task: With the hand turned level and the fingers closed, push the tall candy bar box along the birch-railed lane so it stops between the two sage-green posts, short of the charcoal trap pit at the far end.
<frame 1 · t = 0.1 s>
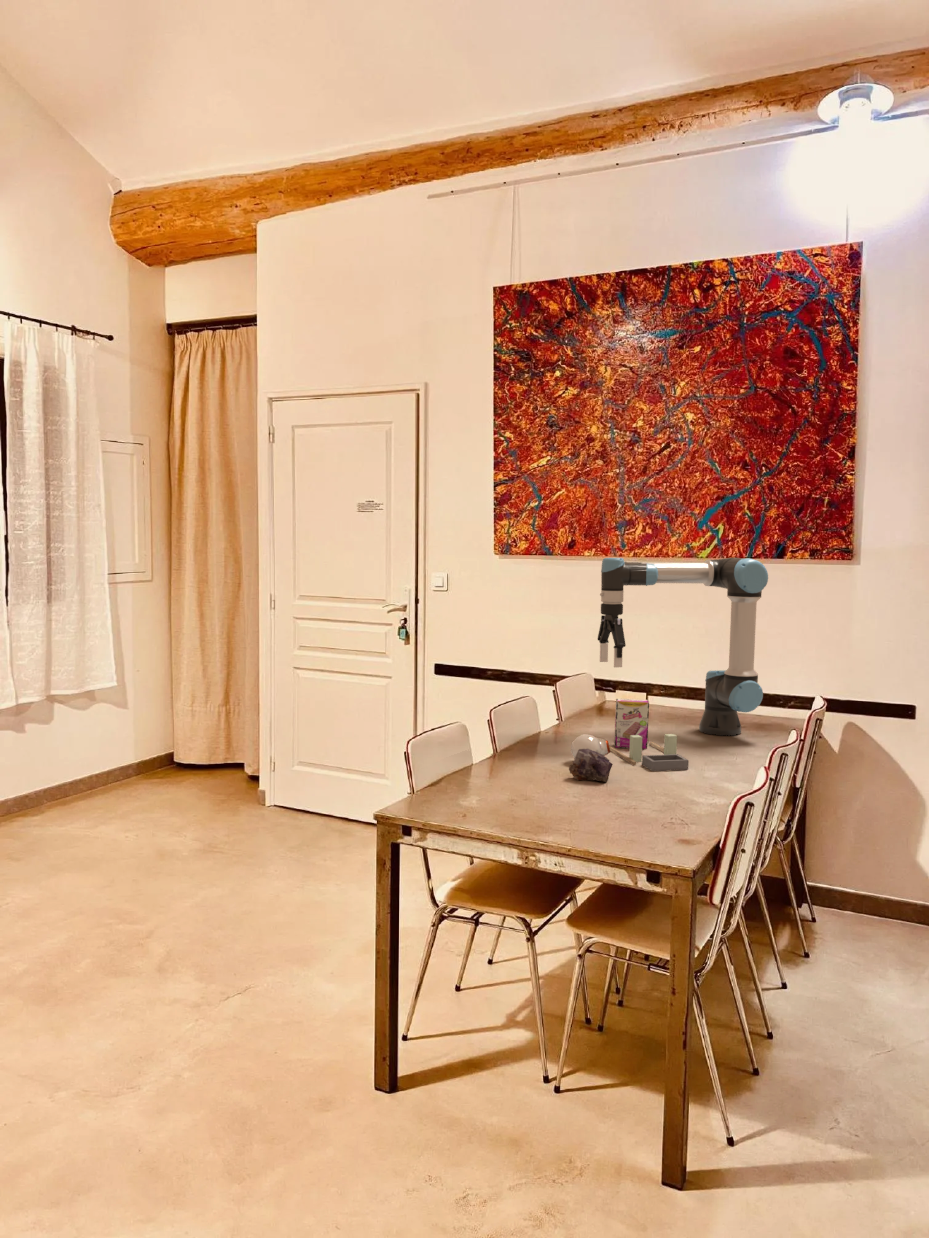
hand: (610, 664, 332), 28 cm above the table, tool pointing down, fingers open, 13 cm apart
potion bottle: (589, 762, 310), on the table
candy bar box: (630, 747, 331), on the table
rock: (591, 779, 288), on the table
lane rails: (648, 757, 316), on the table
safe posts: (653, 747, 313), on the table
trap pit: (665, 762, 304), on the table
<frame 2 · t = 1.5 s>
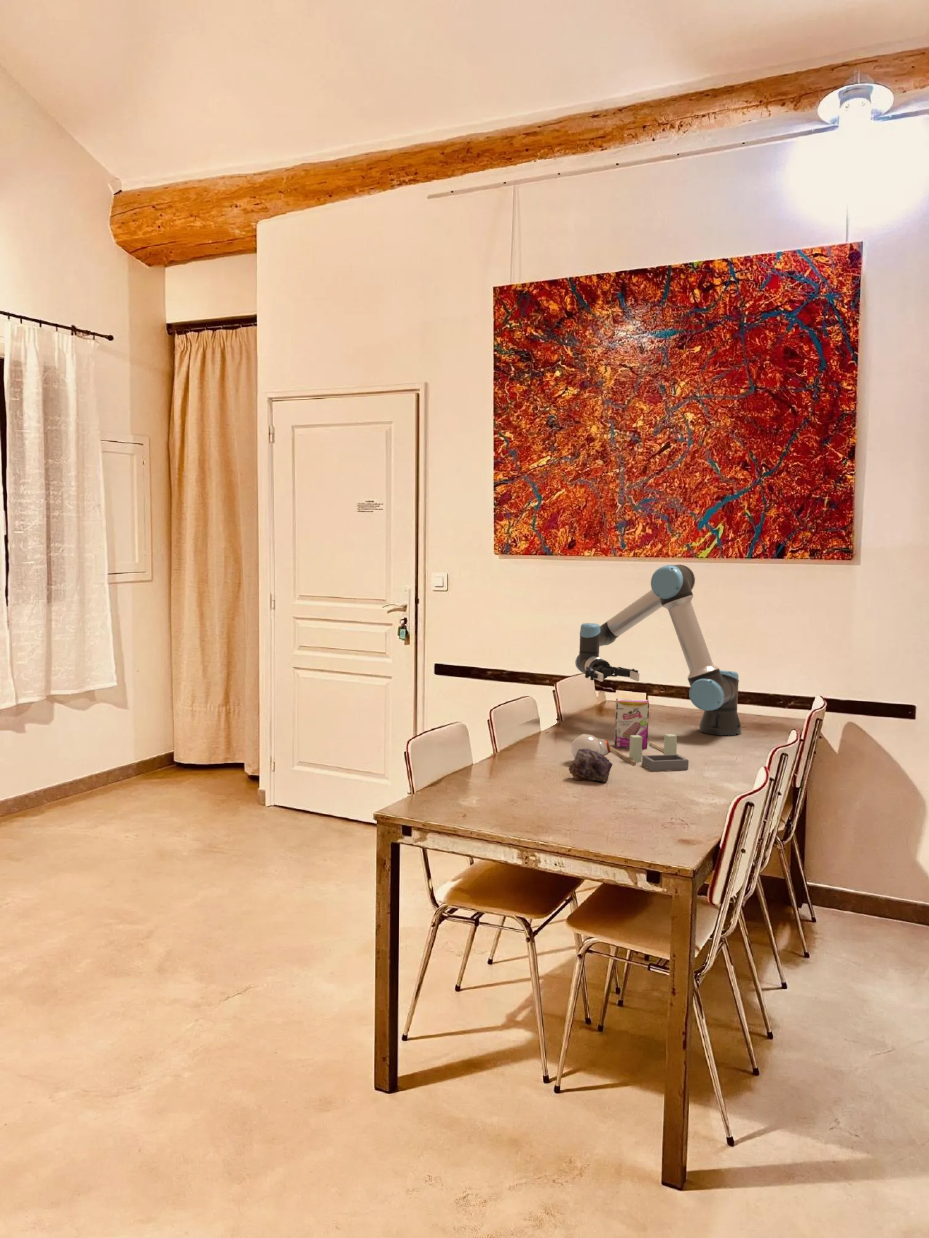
hand: (620, 677, 340), 22 cm above the table, tool horizontal, fingers open, 13 cm apart
nothing on the table moved.
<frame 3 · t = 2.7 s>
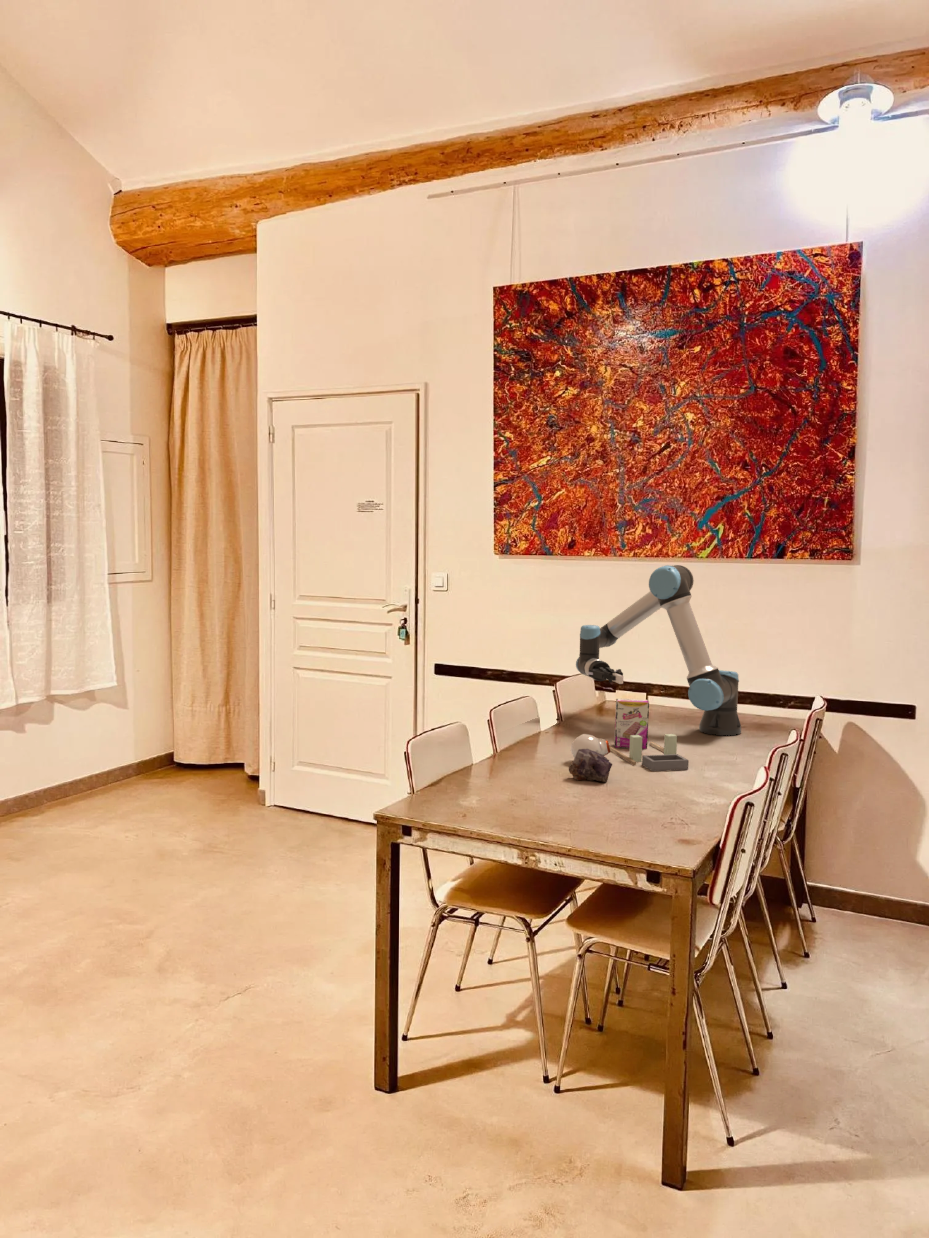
hand: (621, 679, 339), 22 cm above the table, tool horizontal, fingers closed
nothing on the table moved.
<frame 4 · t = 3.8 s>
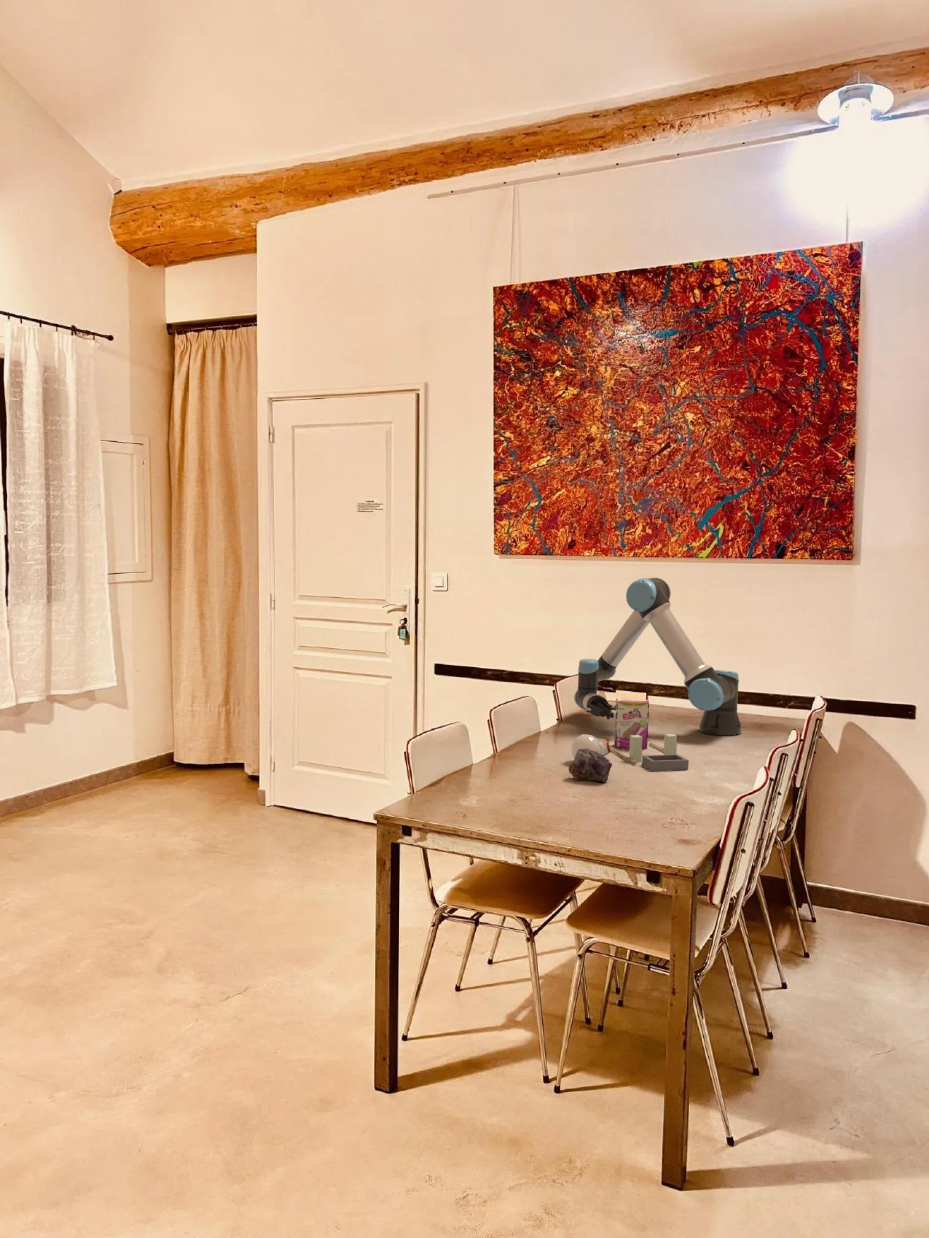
hand: (619, 717, 341), 8 cm above the table, tool horizontal, fingers closed
nothing on the table moved.
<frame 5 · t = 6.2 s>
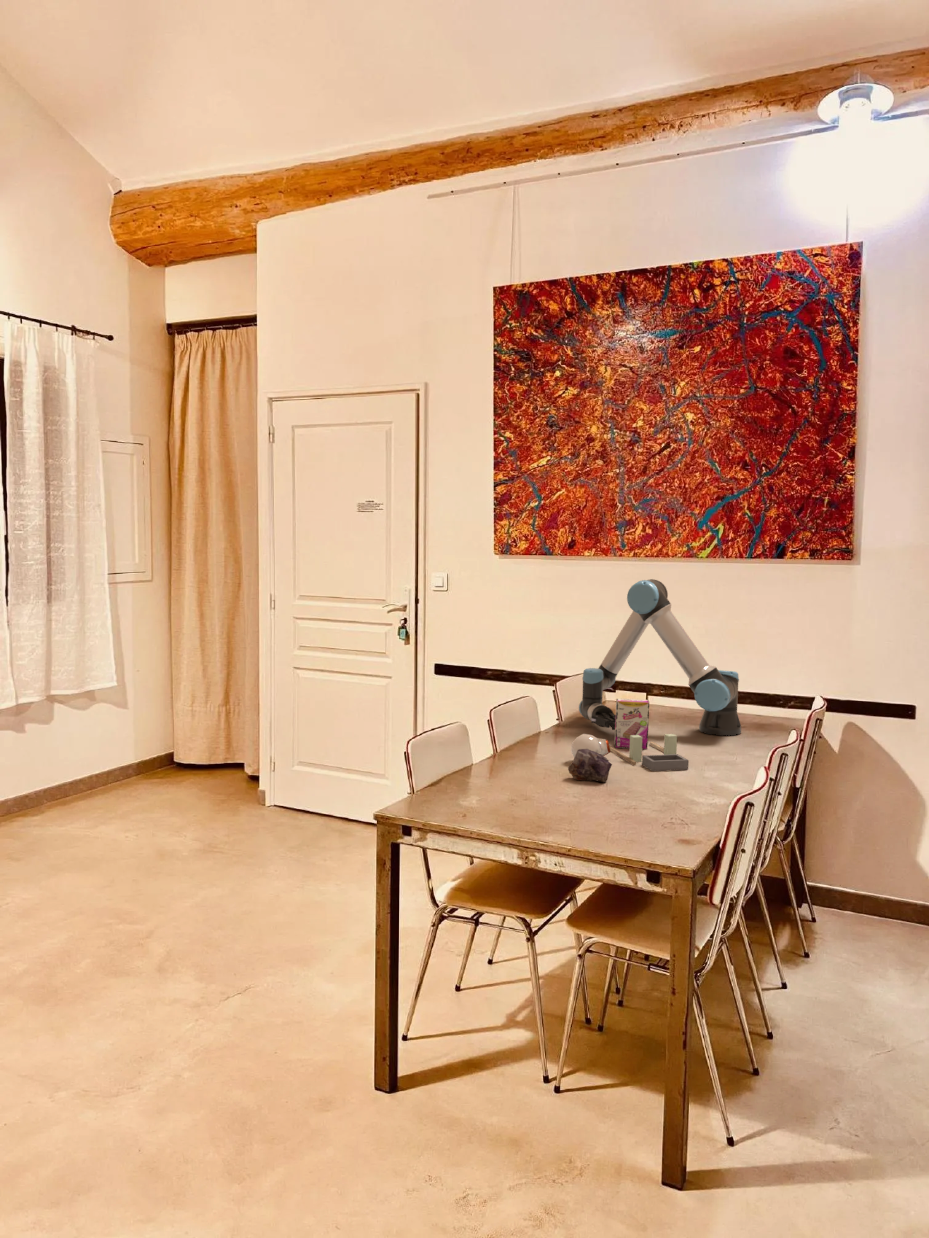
hand: (624, 728, 333), 6 cm above the table, tool horizontal, fingers closed
candy bar box: (631, 747, 331), on the table, touching gripper
everything else where it was.
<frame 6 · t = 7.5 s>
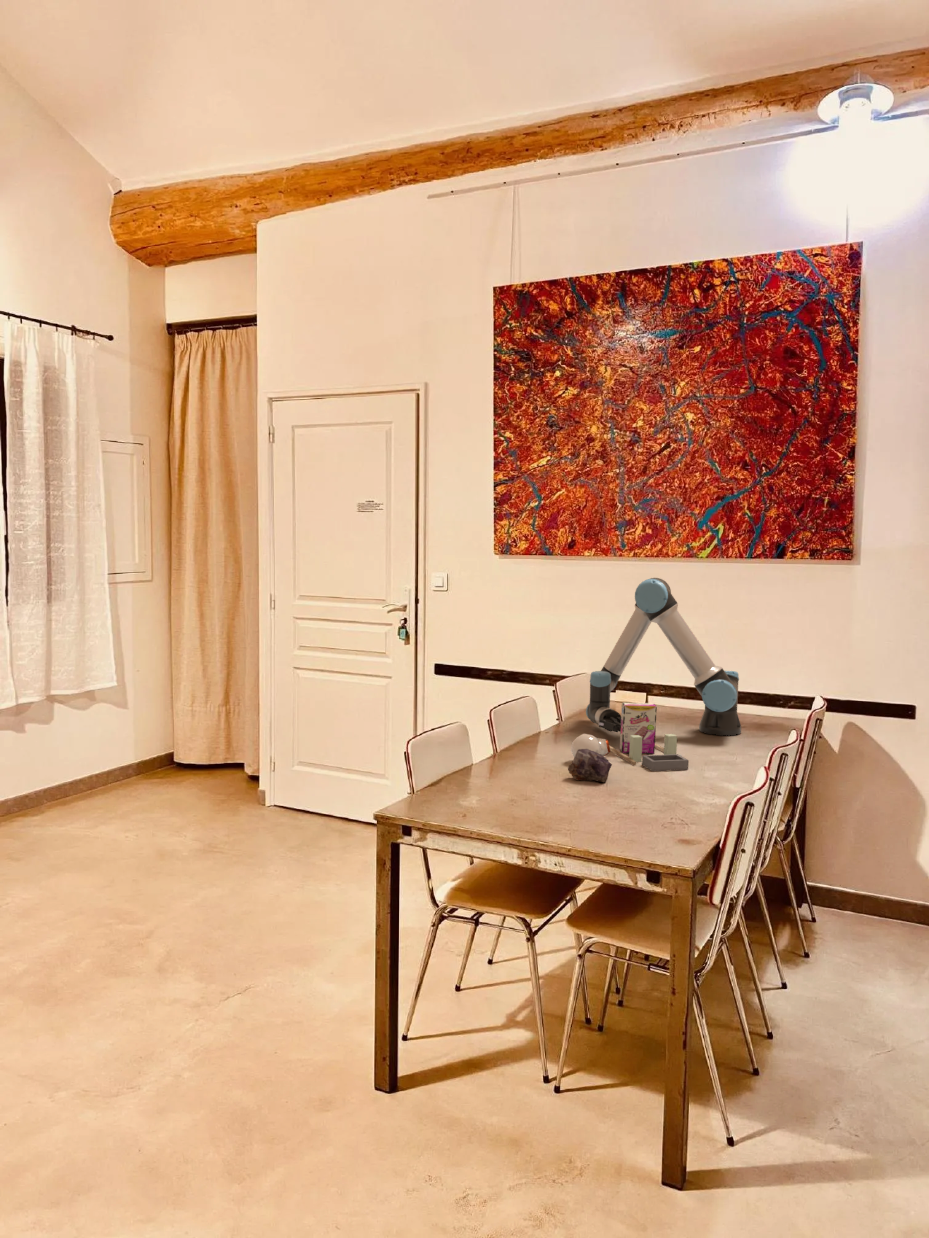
hand: (633, 732, 326), 6 cm above the table, tool horizontal, fingers closed
candy bar box: (637, 752, 324), on the table, touching gripper
everything else where it was.
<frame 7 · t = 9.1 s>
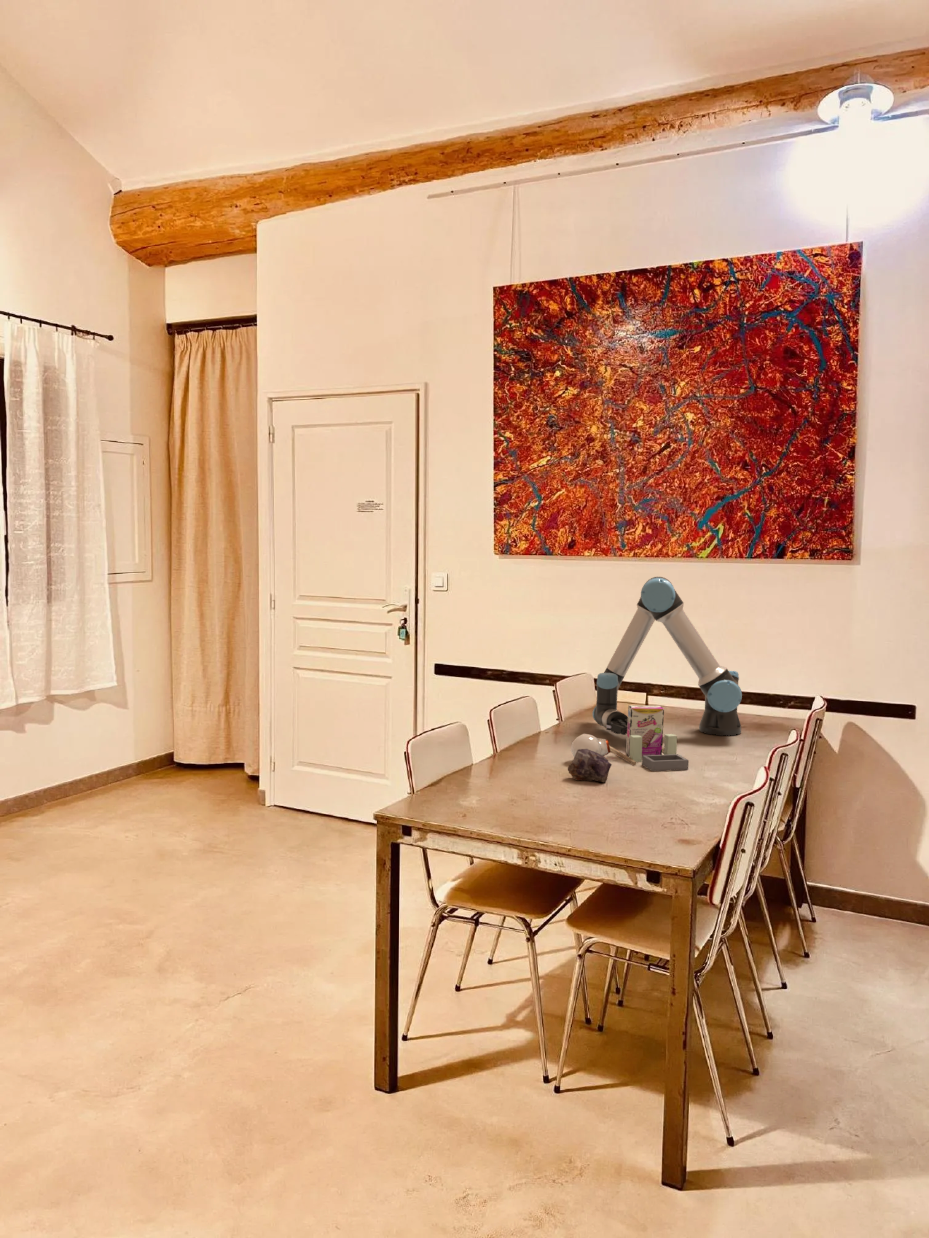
hand: (641, 735, 321), 6 cm above the table, tool horizontal, fingers closed
candy bar box: (644, 756, 319), on the table, touching gripper
everything else where it was.
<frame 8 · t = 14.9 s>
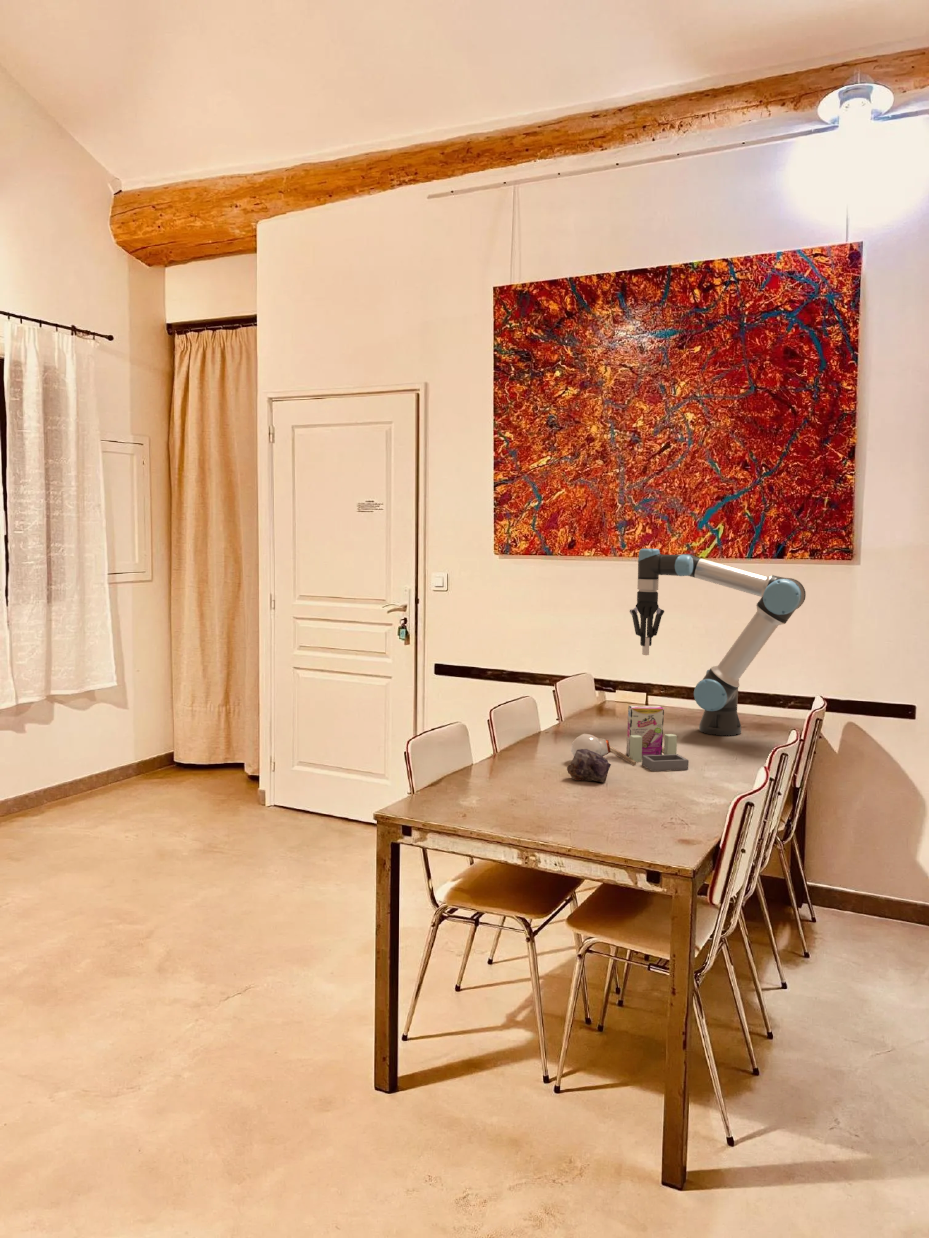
hand: (645, 654, 356), 28 cm above the table, tool pointing down, fingers closed
candy bar box: (644, 756, 319), on the table
everything else where it was.
at the end: candy bar box inside the target area (2.7 cm from its centre), on the table; candy bar box tilted 0°; candy bar box touching table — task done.
